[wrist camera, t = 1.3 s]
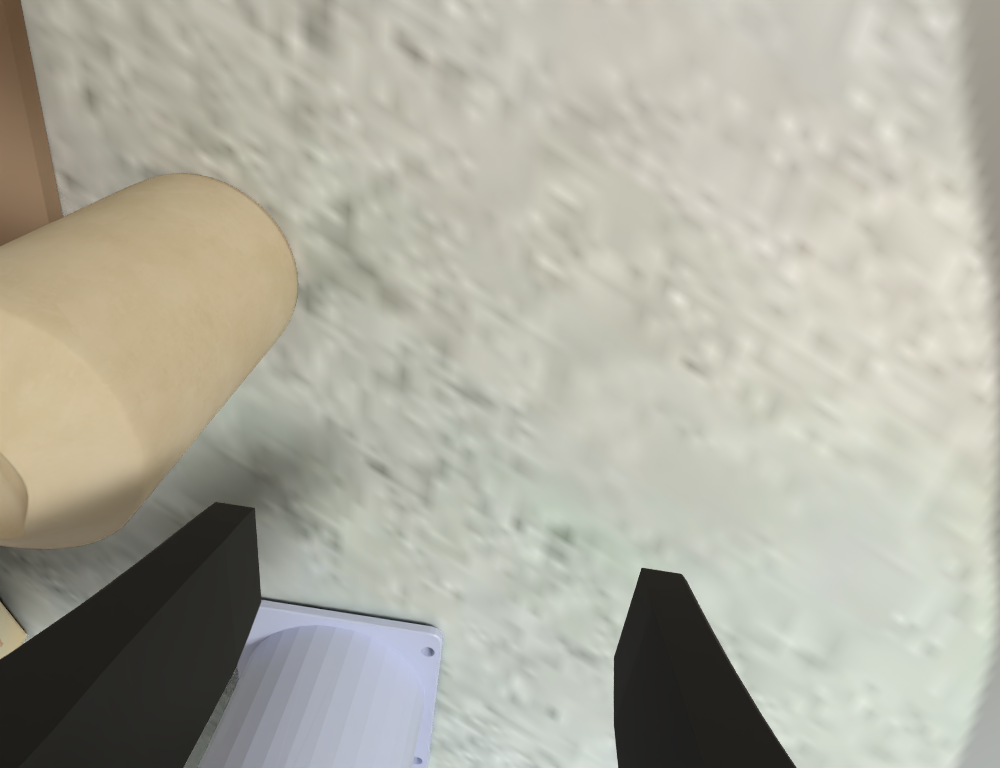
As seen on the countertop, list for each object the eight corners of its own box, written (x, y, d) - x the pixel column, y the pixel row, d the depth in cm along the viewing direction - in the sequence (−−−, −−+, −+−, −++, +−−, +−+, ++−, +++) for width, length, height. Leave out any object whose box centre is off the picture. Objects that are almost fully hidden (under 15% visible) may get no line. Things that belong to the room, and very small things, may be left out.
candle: (124, 337, 21) (-178, 577, 13) (97, 154, 19) (-310, 303, 10) (301, 367, 21) (119, 628, 13) (301, 188, 19) (67, 367, 10)
